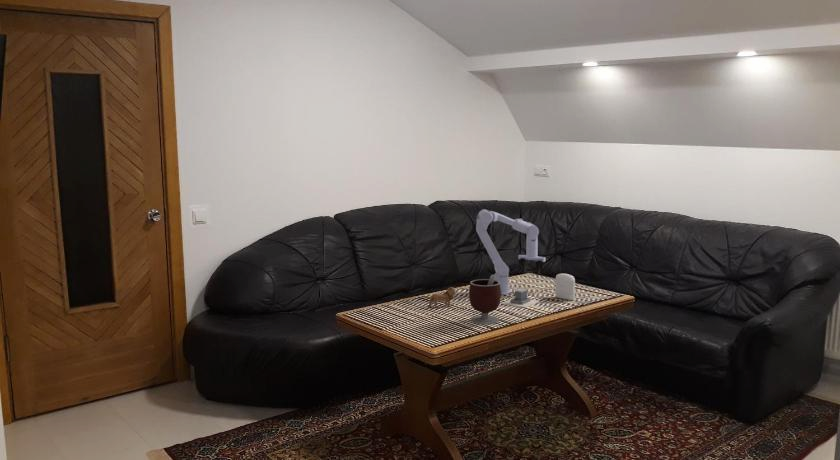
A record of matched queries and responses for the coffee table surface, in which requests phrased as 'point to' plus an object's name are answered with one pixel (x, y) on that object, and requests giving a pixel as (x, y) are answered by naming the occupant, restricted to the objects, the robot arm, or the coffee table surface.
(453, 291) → the lion figurine
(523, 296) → the block
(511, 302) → the plate
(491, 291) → the mate gourd
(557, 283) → the photo printer
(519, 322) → the coffee table surface
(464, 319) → the coffee table surface
